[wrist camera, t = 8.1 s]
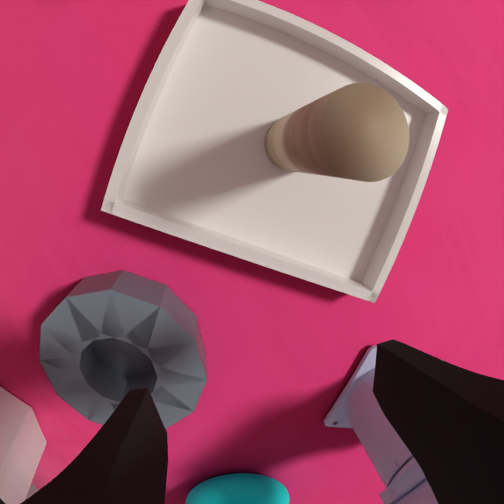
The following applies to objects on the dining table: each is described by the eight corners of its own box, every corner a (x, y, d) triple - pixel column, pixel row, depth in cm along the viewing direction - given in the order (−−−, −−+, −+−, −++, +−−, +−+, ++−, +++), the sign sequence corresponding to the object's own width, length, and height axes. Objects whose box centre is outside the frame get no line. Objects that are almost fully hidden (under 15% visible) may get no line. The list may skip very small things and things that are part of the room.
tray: (426, 111, 18) (448, 108, 16) (358, 289, 20) (374, 303, 18) (199, 0, 14) (199, -18, 12) (112, 204, 17) (100, 210, 15)
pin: (327, 133, 17) (421, 118, 9) (303, 180, 17) (386, 199, 9) (279, 107, 16) (346, 64, 8) (254, 155, 16) (303, 150, 8)
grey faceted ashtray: (224, 303, 19) (228, 327, 16) (180, 417, 21) (179, 445, 18) (68, 250, 17) (48, 265, 14) (53, 375, 19) (39, 400, 16)
